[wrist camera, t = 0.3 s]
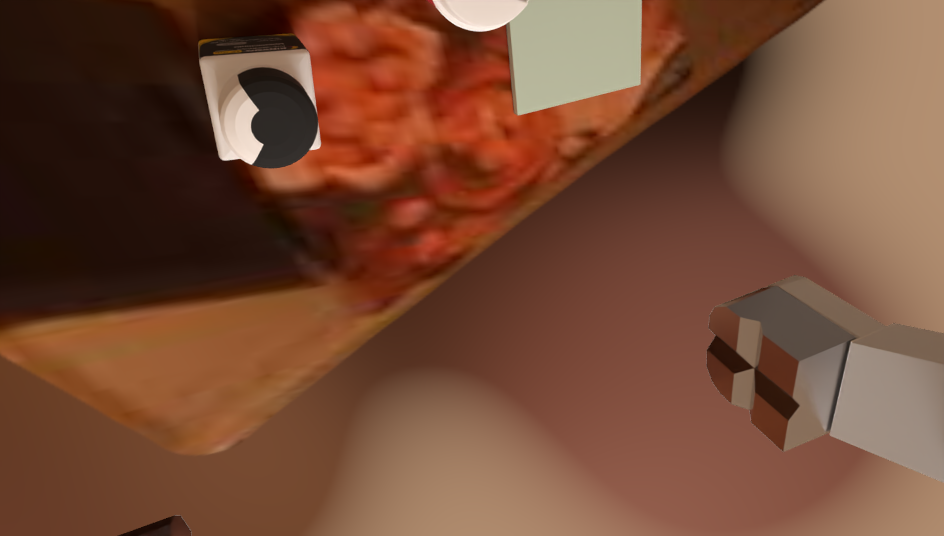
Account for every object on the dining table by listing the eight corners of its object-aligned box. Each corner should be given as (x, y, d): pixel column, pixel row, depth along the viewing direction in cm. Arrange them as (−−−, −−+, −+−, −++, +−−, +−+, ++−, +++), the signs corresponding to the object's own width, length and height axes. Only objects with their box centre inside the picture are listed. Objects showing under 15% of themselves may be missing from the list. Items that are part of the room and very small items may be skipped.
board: (500, -41, 53) (504, -40, 52) (637, -67, 56) (642, -66, 55) (514, 113, 60) (517, 115, 59) (635, 82, 63) (640, 84, 62)
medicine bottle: (295, 32, 50) (321, 64, 40) (307, 122, 53) (334, 172, 44) (197, 39, 48) (199, 74, 38) (216, 132, 51) (223, 187, 41)
